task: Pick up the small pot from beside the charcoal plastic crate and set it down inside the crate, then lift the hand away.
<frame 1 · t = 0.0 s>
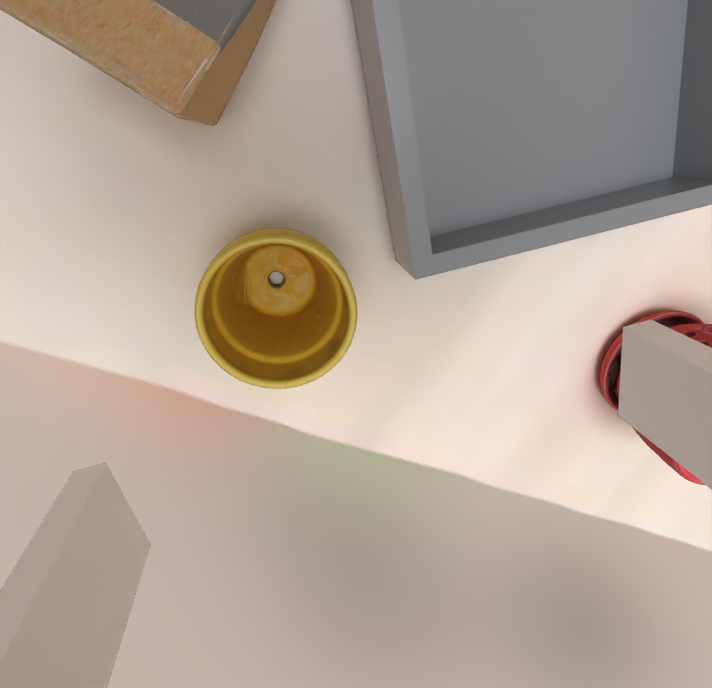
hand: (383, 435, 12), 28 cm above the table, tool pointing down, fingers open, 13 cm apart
plant pot 2: (642, 360, 48), on the table
plant pot: (277, 277, 38), on the table
crate: (534, 51, 34), on the table
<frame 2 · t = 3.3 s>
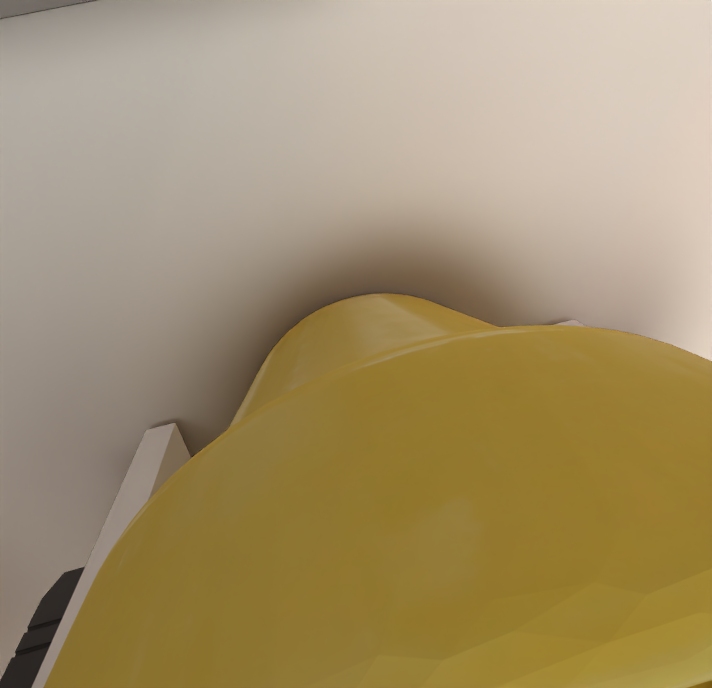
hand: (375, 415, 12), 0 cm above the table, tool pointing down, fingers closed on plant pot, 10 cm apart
plant pot: (372, 406, 13), on the table, touching gripper
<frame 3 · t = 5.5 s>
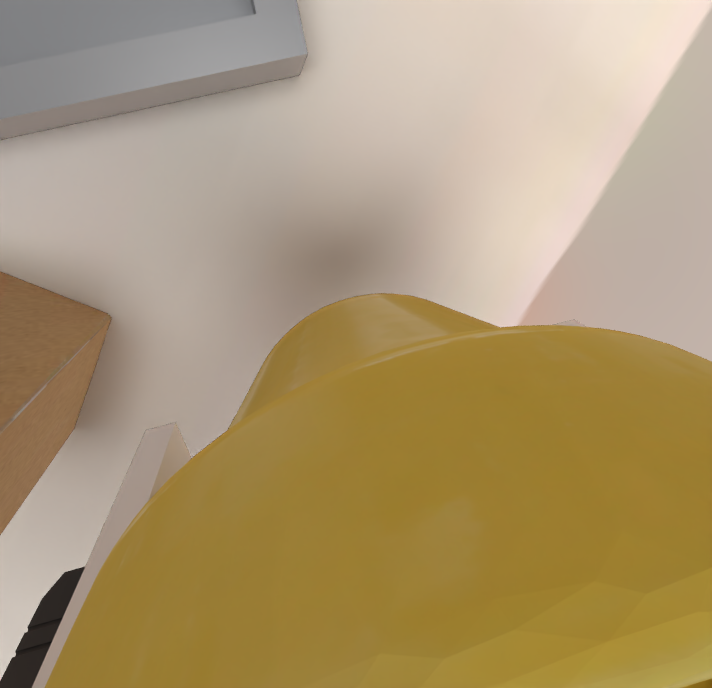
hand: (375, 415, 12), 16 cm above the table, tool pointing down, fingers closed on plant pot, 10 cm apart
plant pot: (372, 406, 13), point 15 cm above the table, touching gripper
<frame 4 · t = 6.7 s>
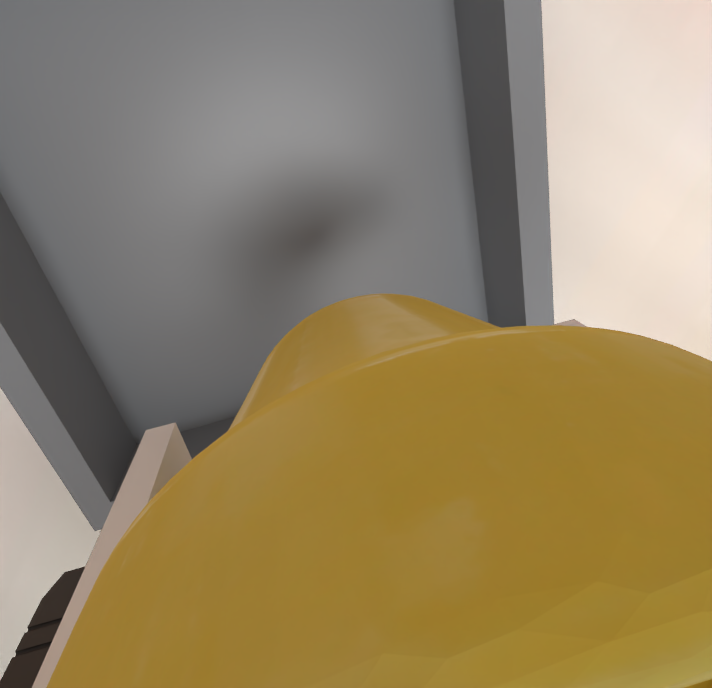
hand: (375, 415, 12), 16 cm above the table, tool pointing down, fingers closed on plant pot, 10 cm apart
plant pot: (373, 406, 13), point 15 cm above the table, touching gripper
crate: (261, 207, 25), on the table
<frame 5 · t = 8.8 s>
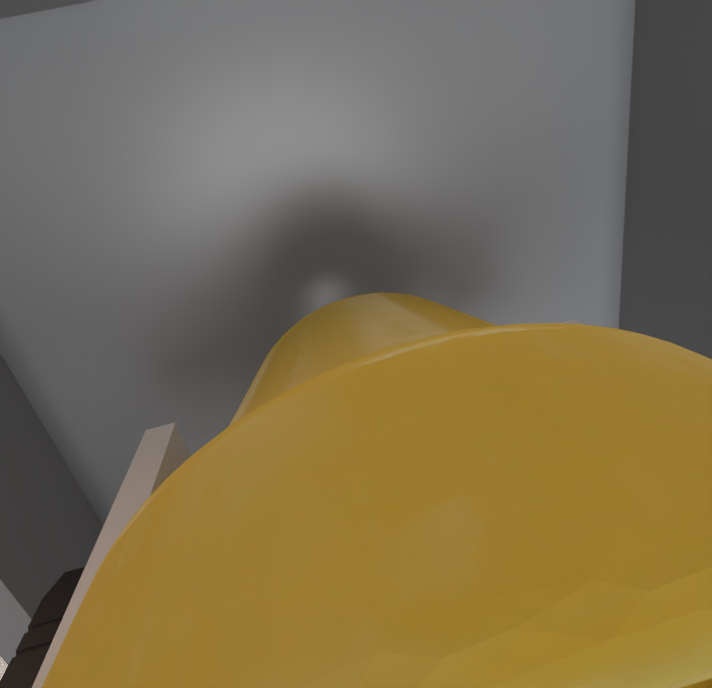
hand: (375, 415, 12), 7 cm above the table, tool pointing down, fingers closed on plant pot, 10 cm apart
plant pot: (372, 405, 13), point 6 cm above the table, touching gripper
crate: (340, 329, 18), on the table
when the fingers open (3 cm above the table, at t = 10.4 s): plant pot drops 2 cm, resting on crate.
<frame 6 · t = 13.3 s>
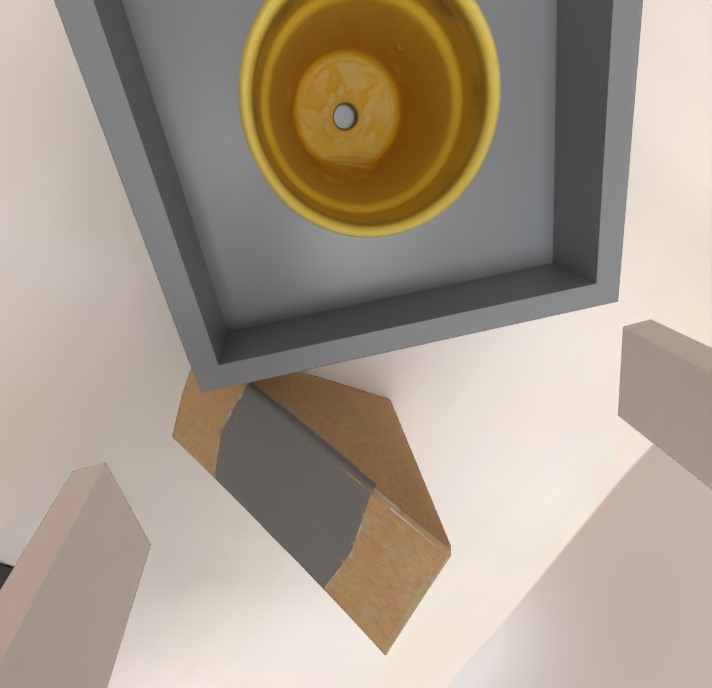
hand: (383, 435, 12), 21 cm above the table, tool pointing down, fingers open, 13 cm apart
plant pot: (344, 116, 27), point 1 cm above the table, touching crate
crate: (364, 113, 27), on the table
sandwich container: (282, 415, 36), on the table
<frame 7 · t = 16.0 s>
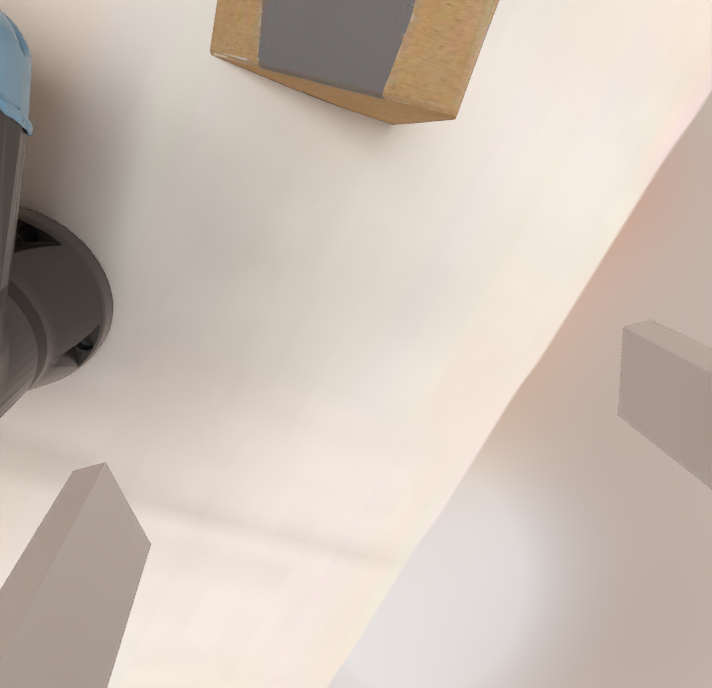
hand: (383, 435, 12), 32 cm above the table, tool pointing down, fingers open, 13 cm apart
sandwich container: (320, 34, 35), on the table
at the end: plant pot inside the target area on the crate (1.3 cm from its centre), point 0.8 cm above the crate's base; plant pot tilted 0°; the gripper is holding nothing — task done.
